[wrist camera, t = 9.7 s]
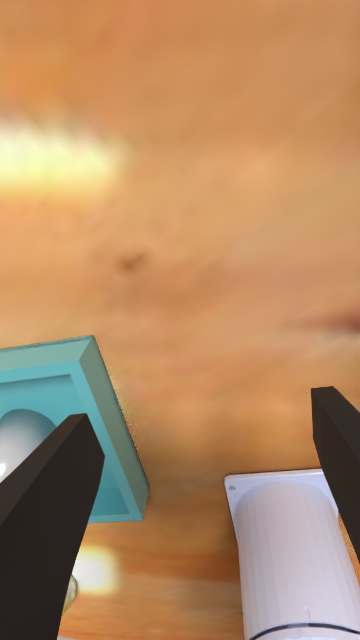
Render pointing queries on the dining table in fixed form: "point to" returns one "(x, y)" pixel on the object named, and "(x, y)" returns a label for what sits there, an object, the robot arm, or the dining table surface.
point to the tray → (75, 398)
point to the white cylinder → (21, 437)
